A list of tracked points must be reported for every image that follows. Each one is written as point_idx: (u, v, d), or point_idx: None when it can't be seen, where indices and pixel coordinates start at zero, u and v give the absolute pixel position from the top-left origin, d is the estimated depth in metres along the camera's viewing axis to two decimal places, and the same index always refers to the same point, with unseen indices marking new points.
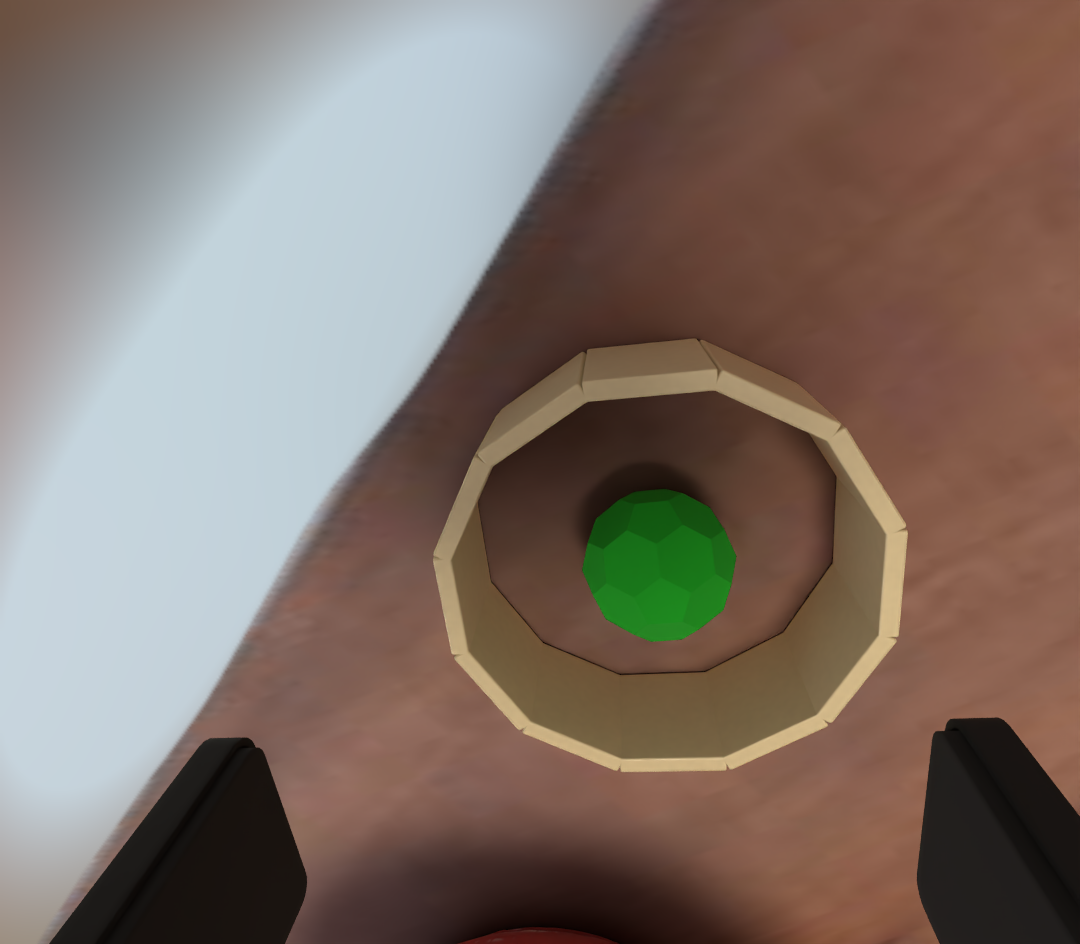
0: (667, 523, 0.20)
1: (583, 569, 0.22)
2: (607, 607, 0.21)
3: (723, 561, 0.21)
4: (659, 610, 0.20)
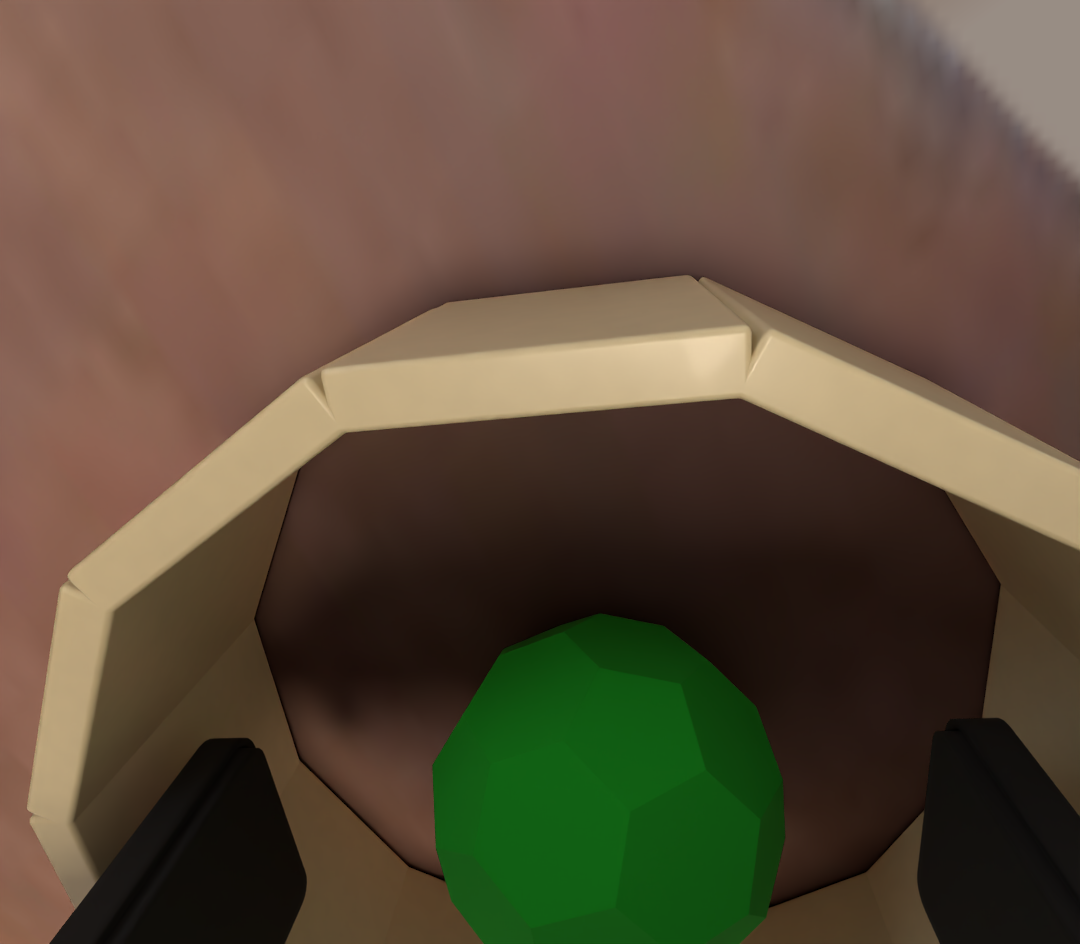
0: (767, 886, 0.08)
1: (604, 675, 0.08)
2: (537, 785, 0.08)
3: None
4: None
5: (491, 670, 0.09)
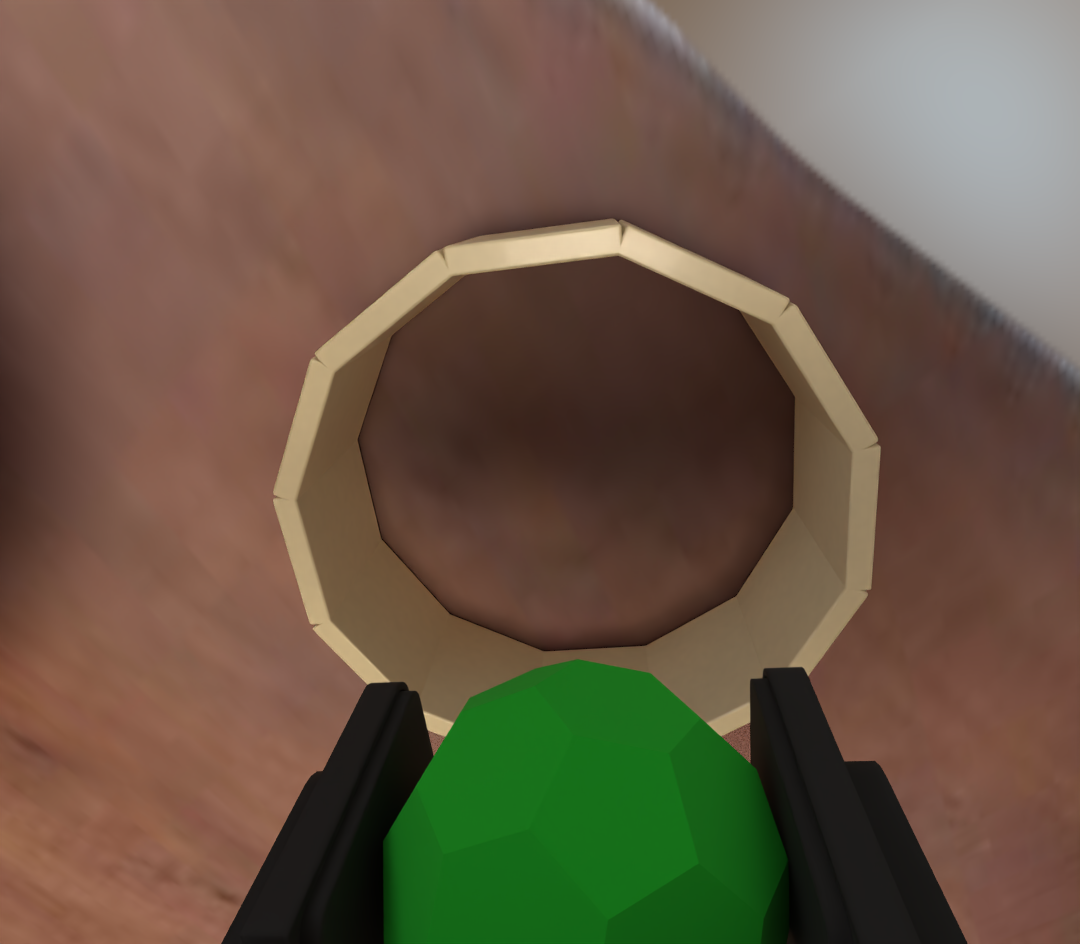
0: None
1: (579, 744, 0.07)
2: (498, 882, 0.07)
3: None
4: None
5: (451, 730, 0.08)
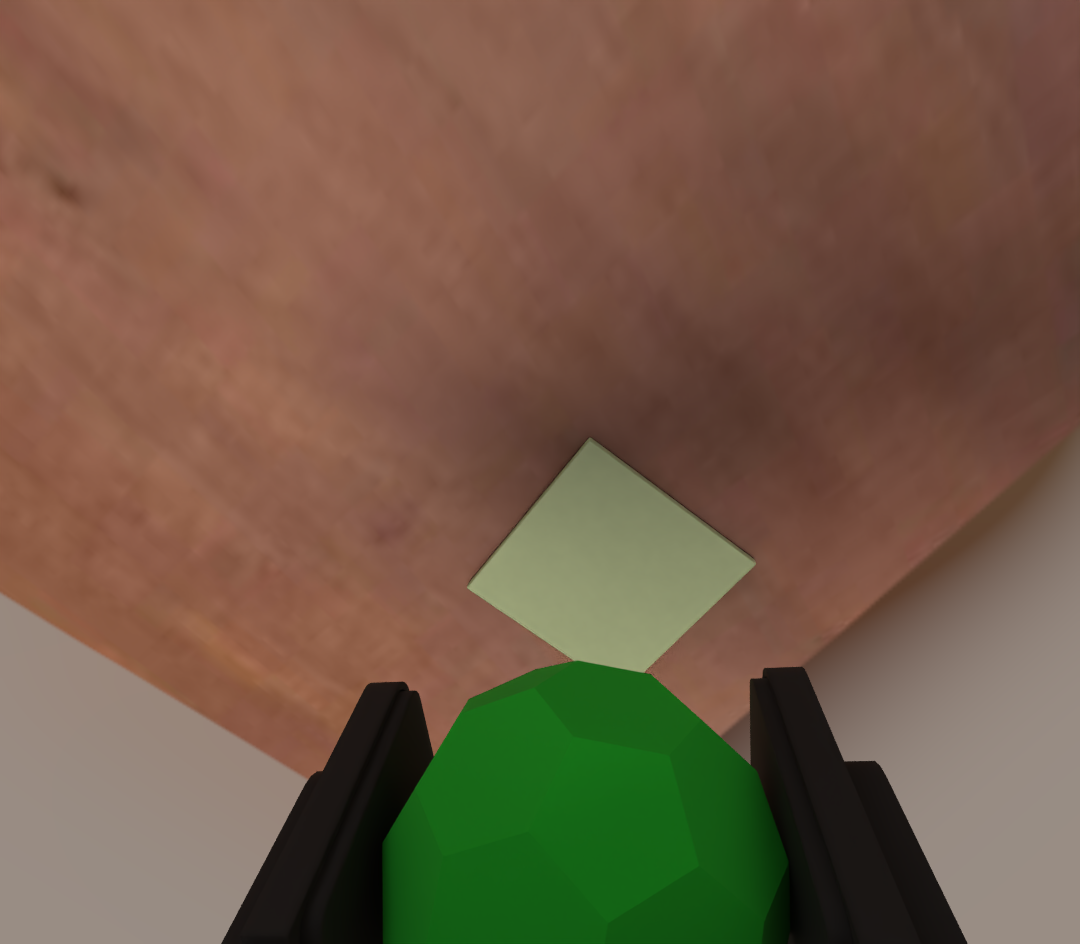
0: None
1: (579, 745, 0.07)
2: (497, 885, 0.07)
3: None
4: None
5: (450, 732, 0.08)
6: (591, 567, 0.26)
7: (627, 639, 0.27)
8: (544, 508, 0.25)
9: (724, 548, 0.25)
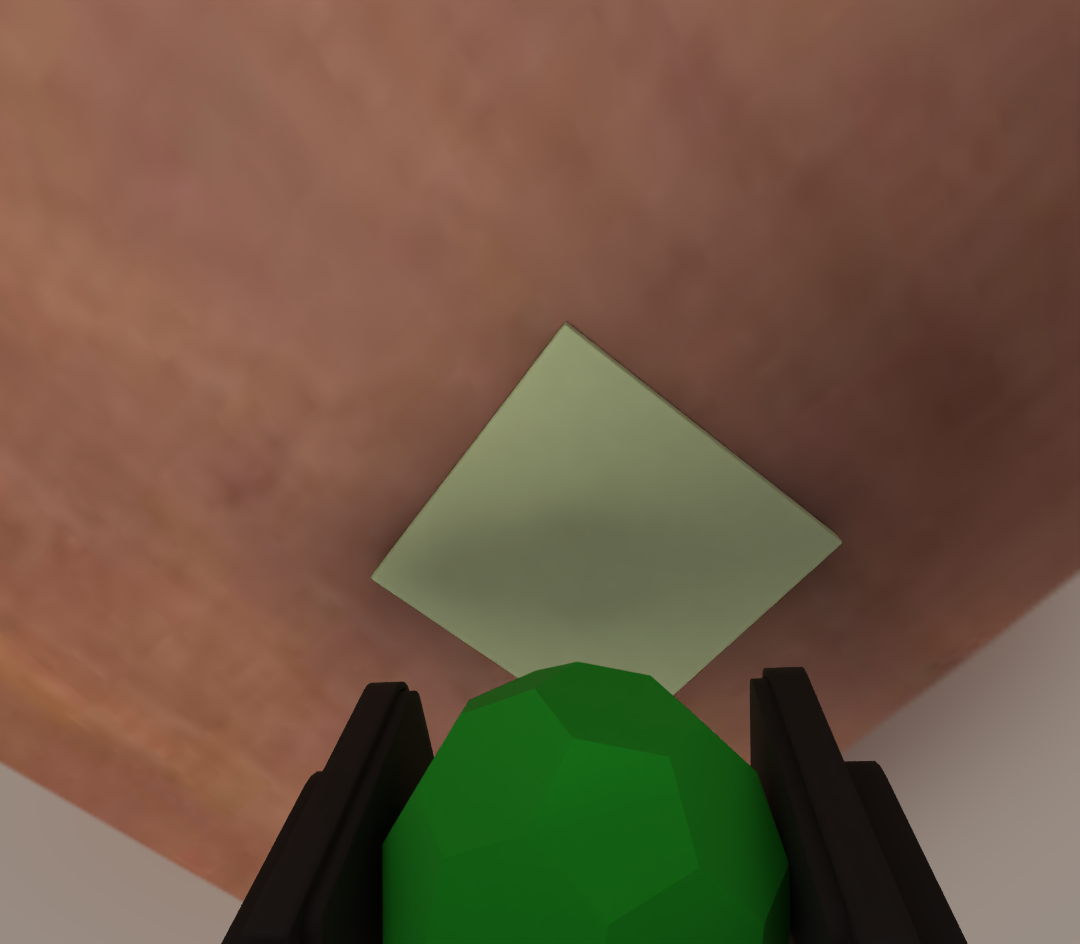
0: None
1: (579, 747, 0.07)
2: (497, 887, 0.07)
3: None
4: None
5: (450, 733, 0.08)
6: (568, 547, 0.16)
7: (626, 663, 0.17)
8: (490, 446, 0.15)
9: (790, 515, 0.15)
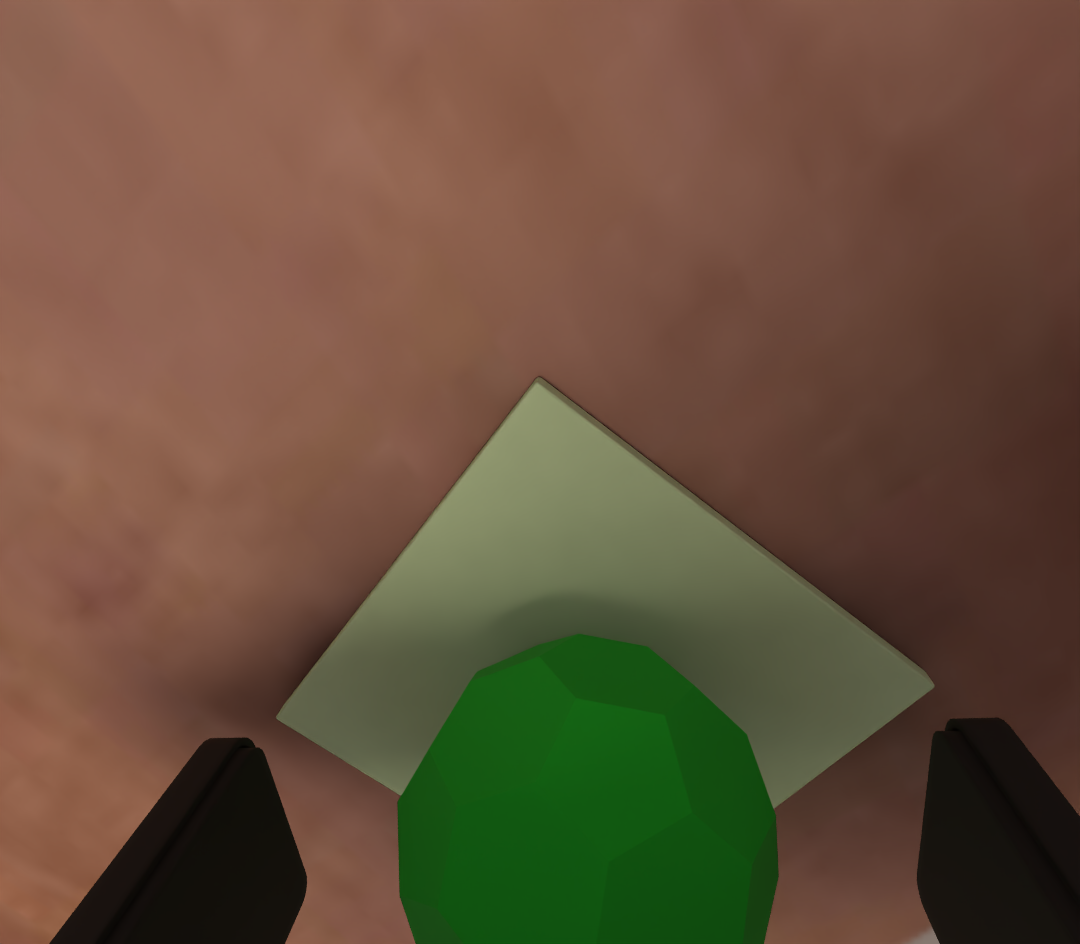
0: (759, 933, 0.08)
1: (581, 706, 0.08)
2: (507, 831, 0.07)
3: None
4: None
5: (460, 698, 0.09)
6: None
7: None
8: (432, 550, 0.10)
9: (862, 649, 0.10)
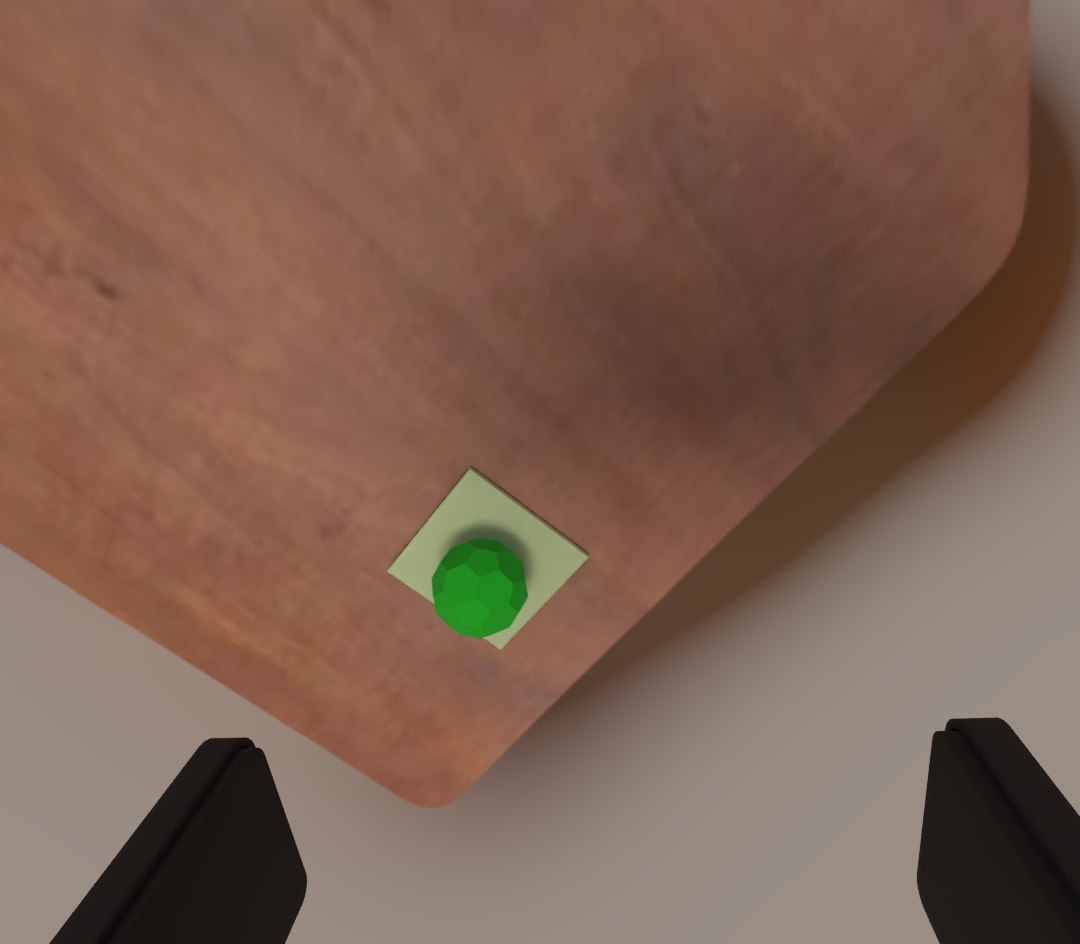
0: (518, 604, 0.33)
1: (476, 549, 0.33)
2: (458, 574, 0.32)
3: None
4: (467, 611, 0.32)
5: (448, 551, 0.34)
6: None
7: None
8: (440, 515, 0.35)
9: (566, 545, 0.35)
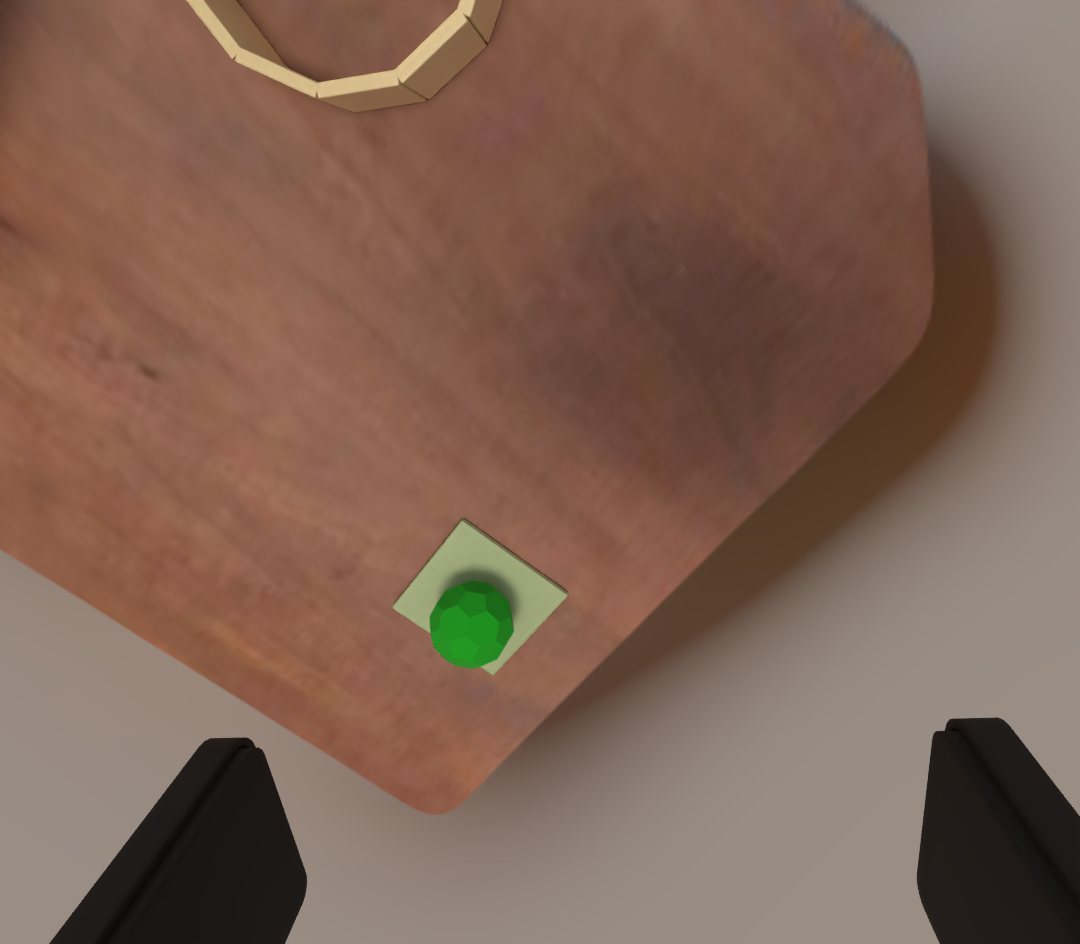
0: (504, 639, 0.38)
1: (467, 592, 0.38)
2: (451, 614, 0.37)
3: None
4: (459, 647, 0.37)
5: (443, 593, 0.39)
6: None
7: None
8: (437, 560, 0.41)
9: (547, 585, 0.40)
